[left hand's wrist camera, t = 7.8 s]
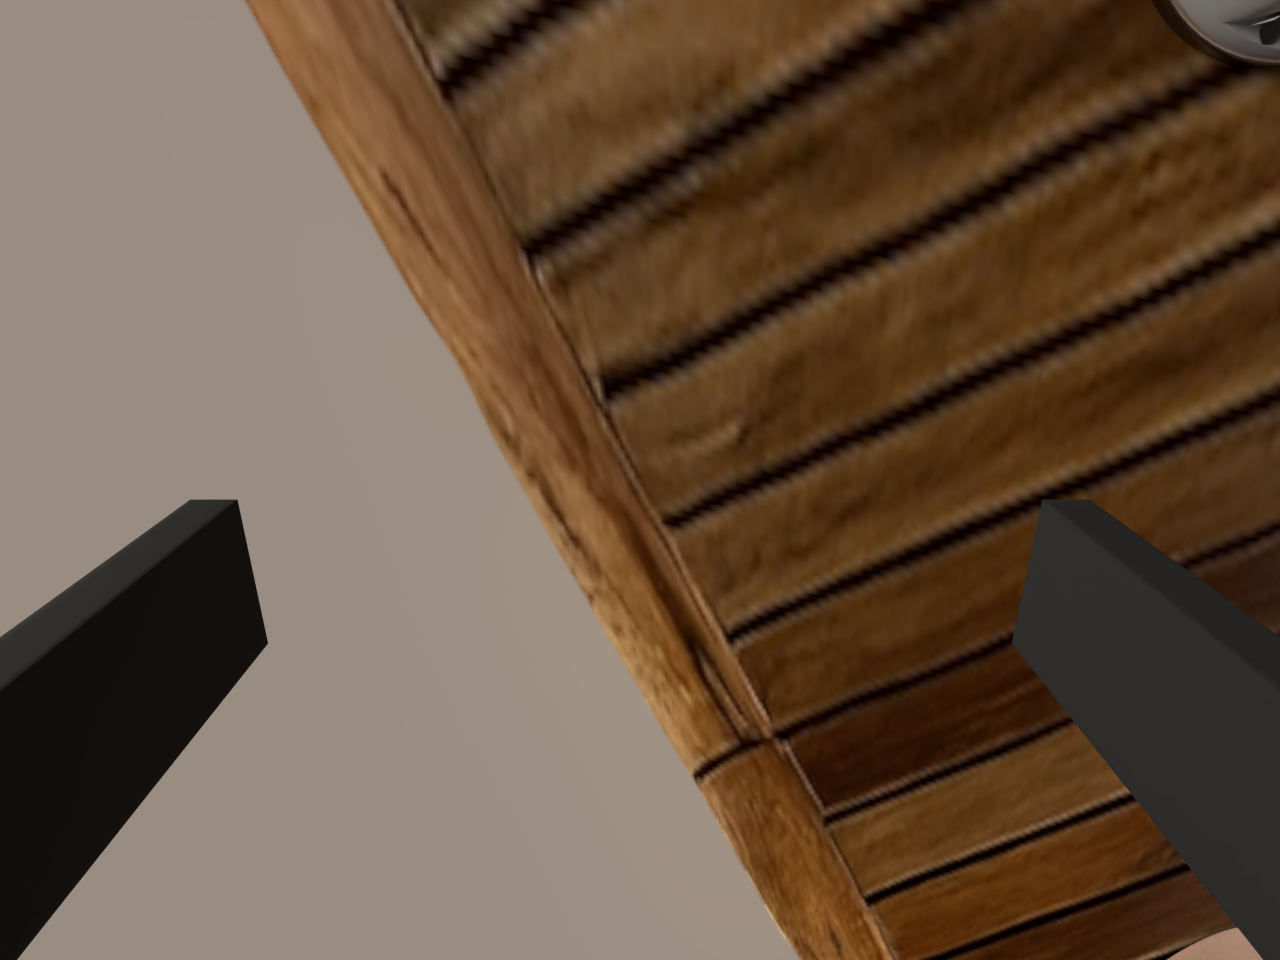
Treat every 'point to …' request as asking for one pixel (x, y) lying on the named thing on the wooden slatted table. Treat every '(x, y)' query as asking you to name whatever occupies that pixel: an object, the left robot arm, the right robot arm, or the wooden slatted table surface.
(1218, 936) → the anatomical model
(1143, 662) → the left robot arm
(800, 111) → the wooden slatted table surface
